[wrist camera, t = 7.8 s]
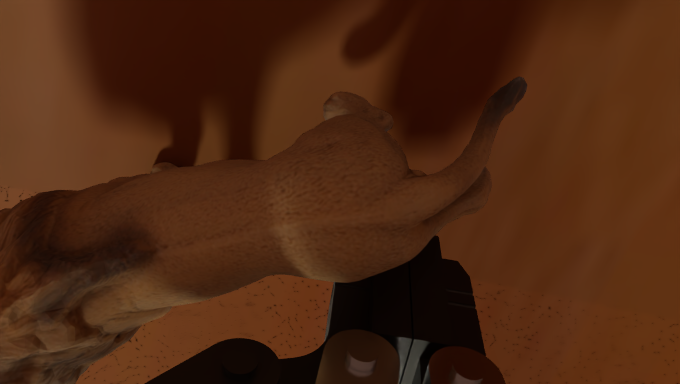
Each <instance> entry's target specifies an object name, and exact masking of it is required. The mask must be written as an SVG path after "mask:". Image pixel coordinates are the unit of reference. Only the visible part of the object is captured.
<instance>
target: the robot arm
mask: <svg viewBox="0 0 680 384" xmlns="http://www.w3.org/2000/svg"><path fill="white" fill-rule="evenodd" d="M475 306H476V305H475V301H474V296H473V291H472V286H471V281H470V277H469V275H468V274H467V273H466V271H465V270H464V269H463V267H462V266H461V265H460V263H459V262H458V261H454V260H448V259H442V256H441V249H440V242H439V237H438V236H434V237H433V238H432V239H431V240H430V241H429V242H428V244H427V245H426V246H425V247H424V248H423V249H422V250H421V251H420V253H419V254H417V255H416V256H415V257H414V258H412V259H411V260H409V261H408V262H406V263H404V264H402V265H399V266H397V267H395V268H392V269H390V270H387V271H384V272H382V273H379V274H376V275H373V276H370V277H368V278H365V279H362V280H360V281H355V282H349V283H339V282H334V284H333V290H332V295H331V300H330V306H329V313H328V320H327V327H326V334H325V341H324V343H323V344H322V345H321V346H320V347H319V348H318V349H317V350H315V351H314V352H312V353H310V354H307V355H304V356H301V357H295V358H287V359H278V357H277V356H276V354H275V353H274V352H273V351H272V350H271V349H270V348H269V347H267V346H266V345H264V344H262V343H260V342H258V341H255V340H251V339H244V338H234V339H228V340H224V341H221V342H219V343H217V344H214V345H213V346H211V347H209V348H207V349H205V350H204V351H202V352H200V353H198V354H197V355H195V356H193V357H191V358H189V359H188V360H186V361H184V362H182V363H180V364H179V365H177V366H175V367H173V368H172V369H170V370H168V371H166V372H164V373H163V374H161V375H159V376H157V377H155V378H154V379H152V380H150V381H148V382H147V383H145V384H506V383H505V380H504V378H503V375H502V373H501V372H500V370H499V368H498V367H497V366H496V365H495V364H494V363H493V362H492V361H491V360H490V359H489V358H487V357H486V354H485V349H484V345H483V340H482V335H481V330H480V325H479V320H478V315H477V310H476V309H475Z"/></svg>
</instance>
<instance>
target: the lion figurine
mask: <svg viewBox="0 0 680 384" xmlns="http://www.w3.org/2000/svg"><path fill="white" fill-rule="evenodd" d="M526 89H527V84H526V82H525V80H524V78H522V77H517V78H515V79H513V80H512V81H510V82H509V83H508V84H507V85H505V86H504V87H502V88H500V89H499V90H498V91H497V92H496V93H494V94H493V95H492V96H491V97H490V98H489V99H488V101H487V103H486V105H485V108H484V110H483V113H482V115H481V116H480V118H479V120H478V123H477V126H476V129H475V131H474V133H473V136H472V138H471V140H470V142H469V144H468V145H467V146H466V148H465V149H464V151H463V153H462V154H461V155H460V156H459V157H458V158H457V159H456V160H455V161H454V162H453V163H452V164H451V165H450V166H448V167H446V168H445V169H443V170H441V171H439V172H437V173H434V174H430V175H426V174H425V173H423V172H422V171H419V170H411V169H409V167H408V163H407V160H406V157H405V154H404V152H403V150H402V149H401V147H400V145H399V144H398V143H397V141H396V140H395V139H393V138H392V137H391V135H389V134H388V133H387V131H388V130H390V129H391V128H392V125H393V118H392V116H391V115H390V114H389V113H387V112H386V111H383V110H380V109H378V108H376V107H374V106H372V105H371V104H370V103H369V102H368V101H367V100H365V99H364V98H362V97H361V96H358V95H356V94H353V93H349V92H337V93H334V94H332V95H331V96H330V97H329V99H328V100H327V101H326V102H325V103H324V118H325V120H326V121H324V122H322V123H320V124H319V125H318V126H316V127H315V128H314V129H311V130H309V131H307V132H305V133H303V134H302V135H301V136H300V137H299V138H298V139H297V140H296V142H295V143H294V144H293V145H292V146H291V147H289V148H288V149H286V150H284V151H282V152H280V153H279V154H277V155H275V156H273V157H271V158H269V159H268V160H219V161H214V162H210V163H206V164H203V165H198V166H190V167H179V168H178V167H177V166H175V165H174V164H172V163H168V162H162V163H158V164H155V165H154V166H153V169H152V171H151V173H150V174H141V175H136V176H132V177H118V178H115V179H113V180H111V181H109V182H108V183H102V184H98V185H95V186H92V187H89V188H86V189H83V190H79V191H73V190H55V191H49V192H42V193H38V194H36V195H35V196H33V197H31V198H28V199H25V200H23V201H21V202H19V203H18V204H17V205H15V206H14V207H13V208H12V209H7V208H5V209H3V210H0V384H75V383H76V381H77V379H78V378H79V376H80V375H81V374H82V373H84V372H85V371H86V370H87V369H88V367H89V366H90V365H91V364H93V363H94V362H96V361H98V360H100V359H101V358H103V357H105V356H106V355H108V354H110V353H111V352H112V351H114V350H115V349H116V348H118V347H119V346H121V345H122V344H124V343H125V342H127V341H128V340H130V339H131V338H132V337H133V335H134V334H135V333H136V331H137V330H138V329H139V328H140V327H141V326H142V324H144V323H147V322H149V321H152V320H155V319H158V318H160V317H162V316H164V315H165V314H166V313H167V312H169V311H170V309H171V308H172V306H176V305H184V304H190V303H195V302H200V301H204V300H207V299H210V298H213V297H216V296H220V295H223V294H226V293H229V292H232V291H234V290H236V289H239V288H241V287H244V286H246V285H248V284H251V283H253V282H256V281H258V280H260V279H262V278H264V277H266V276H270V275H274V274H285V275H294V276H299V277H305V278H310V279H317V280H324V281H332V282H339V283H349V282H355V281H360V280H362V279H365V278H368V277H370V276H373V275H376V274H379V273H382V272H384V271H387V270H390V269H392V268H395V267H397V266H399V265H402V264H404V263H406V262H408V261H409V260H411V259H412V258H414V257H415V256H416V255H417V254H419V253H420V251H421V250H422V249H423V248H424V247H425V246H426V245H427V244H428V242H429V241H430V240H431V239H432V238H433V237H434V236H435V235H436V234H437V233H438V232H439V231H440V230H441V229H442V228H443V227H444V226H445V225H446V224H447V223H449V222H451V221H453V220H455V219H458V218H460V217H462V216H464V215H468V214H472V213H475V212H477V211H478V210H480V209H481V208H482V207H483V206H484V205H485V204H486V202H487V200H488V196H489V193H490V190H491V186H492V182H491V177H490V173H489V171H488V169H487V168H486V167H485V165H486V163H487V161H488V159H489V155H490V152H491V147H492V144H493V141H494V138H495V135H496V132H497V130H498V127H499V125H500V122H501V121H502V119H503V118H504V116H505V115H507V114H508V113H510V112H511V111H513V109H514V107H515V105H516V104H517V103H518V102H519V101H520V100H521V99H522V98H523V96H524V94H525V92H526Z"/></svg>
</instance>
